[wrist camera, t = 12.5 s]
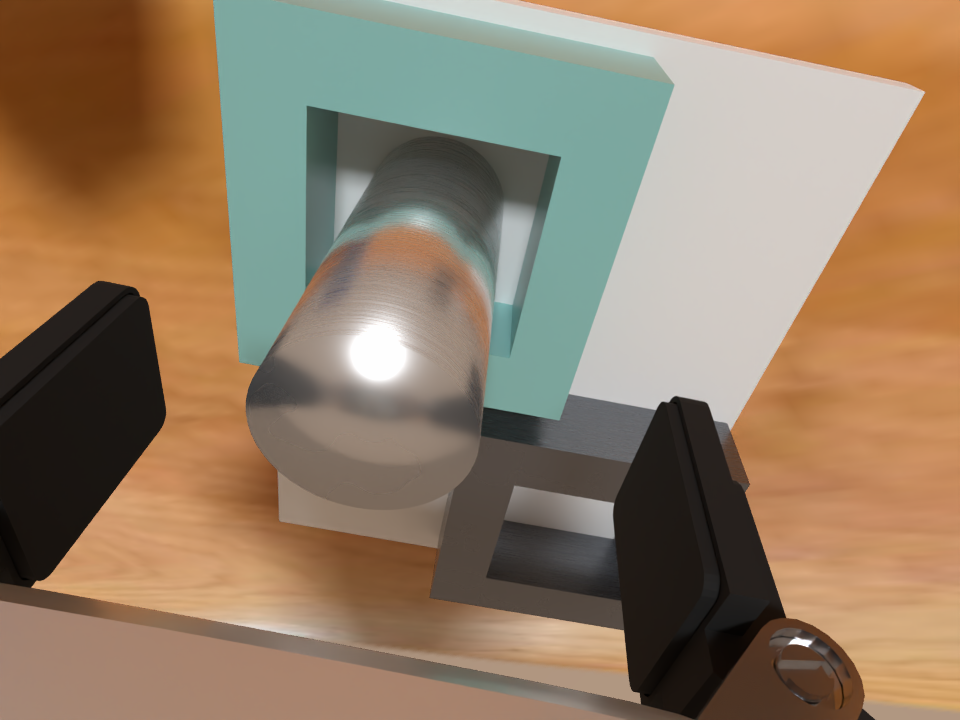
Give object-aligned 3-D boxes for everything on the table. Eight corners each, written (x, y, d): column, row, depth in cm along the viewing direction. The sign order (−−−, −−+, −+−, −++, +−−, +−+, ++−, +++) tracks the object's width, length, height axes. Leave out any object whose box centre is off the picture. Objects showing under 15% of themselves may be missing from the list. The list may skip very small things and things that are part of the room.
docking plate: (906, 82, 17) (925, 92, 16) (639, 564, 30) (642, 583, 29) (275, -52, 16) (262, -49, 15) (286, 504, 29) (279, 521, 28)
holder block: (727, 423, 23) (749, 484, 20) (642, 573, 28) (652, 635, 26) (473, 376, 22) (466, 433, 20) (438, 538, 28) (429, 597, 26)
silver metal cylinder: (516, 151, 18) (500, 361, 9) (490, 274, 20) (460, 525, 12) (376, 123, 17) (239, 313, 9) (367, 250, 20) (251, 489, 12)
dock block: (653, 57, 16) (675, 84, 13) (556, 363, 22) (559, 420, 19) (262, -26, 15) (212, -12, 13) (272, 310, 21) (239, 362, 19)
